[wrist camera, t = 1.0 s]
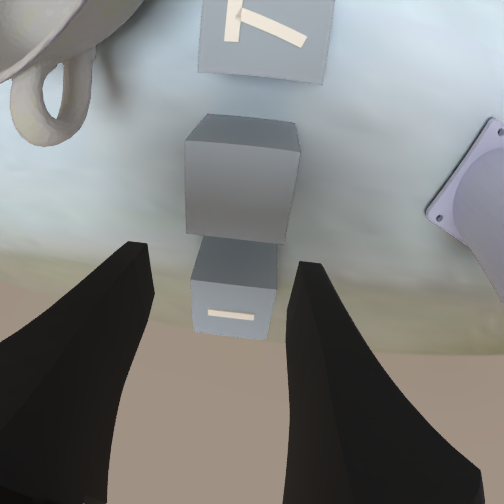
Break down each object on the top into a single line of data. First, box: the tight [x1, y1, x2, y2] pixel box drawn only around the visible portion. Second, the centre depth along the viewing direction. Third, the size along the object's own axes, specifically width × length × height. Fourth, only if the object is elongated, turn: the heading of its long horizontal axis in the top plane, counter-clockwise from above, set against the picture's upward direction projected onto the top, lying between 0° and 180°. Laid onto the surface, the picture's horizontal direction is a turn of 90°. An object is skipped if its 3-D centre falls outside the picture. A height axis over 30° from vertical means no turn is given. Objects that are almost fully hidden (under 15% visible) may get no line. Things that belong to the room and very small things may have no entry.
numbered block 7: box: [198, 0, 335, 85], centre depth 10 cm, size 4×4×5 cm
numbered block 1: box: [190, 235, 277, 340], centre depth 19 cm, size 4×4×5 cm
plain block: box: [185, 114, 301, 245], centre depth 15 cm, size 4×4×4 cm
